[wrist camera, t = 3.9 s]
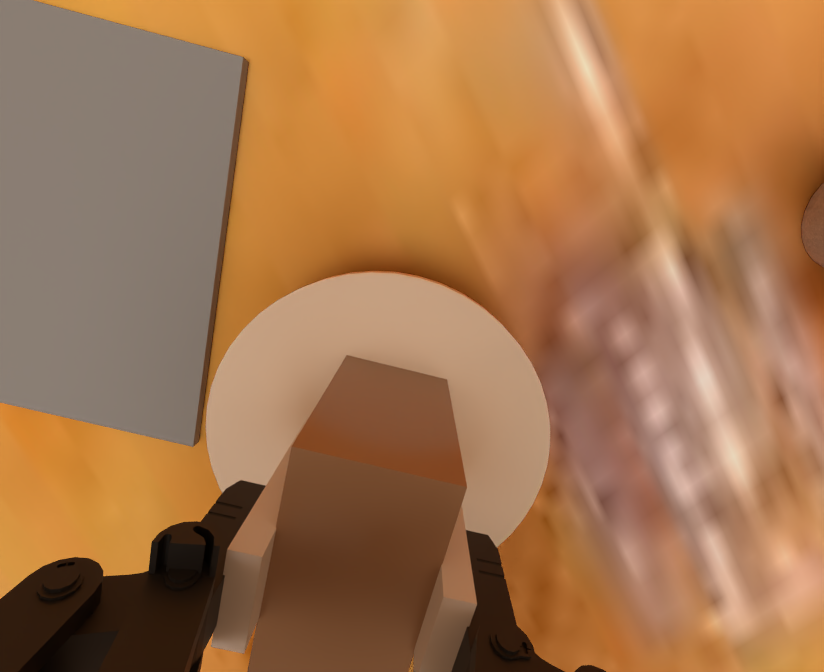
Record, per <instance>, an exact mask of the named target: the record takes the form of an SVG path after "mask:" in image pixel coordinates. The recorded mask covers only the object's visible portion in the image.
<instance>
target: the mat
mask: <svg viewBox="0 0 824 672" xmlns="http://www.w3.org/2000/svg"><path fill="white" fill-rule="evenodd" d="M248 63H249V62H248V61H247V60H246V59H245V58H244V57H241V56H237V55H233V54H230V53H226V52H222V51H219V50H215V49H211V48H207V47H204V46H200V45H196V44H193V43H189V42H185V41H181V40H178V39H174V38H170V37H167V36H163V35H159V34H155V33H152V32H148V31H144V30H141V29H137V28H133V27H129V26H126V25H122V24H118V23H115V22H111V21H107V20H104V19H100V18H96V17H92V16H89V15H85V14H81V13H78V12H74V11H70V10H66V9H63V8H59V7H55V6H52V5H48V4H44V3H40V2H37V1H33V0H0V402H1V403H5V404H10V405H14V406H18V407H23V408H27V409H31V410H36V411H40V412H44V413H49V414H53V415H57V416H62V417H66V418H70V419H75V420H79V421H83V422H88V423H92V424H96V425H101V426H105V427H110V428H114V429H118V430H123V431H127V432H131V433H136V434H140V435H144V436H149V437H153V438H157V439H162V440H166V441H170V442H175V443H179V444H183V445H188V446H192V447H193V446H194V445H195V444H197V443H198V442H199V435H200V428H201V420H202V412H203V405H204V397H205V390H206V382H207V375H208V367H209V359H210V352H211V344H212V337H213V329H214V321H215V314H216V306H217V299H218V291H219V283H220V276H221V268H222V261H223V253H224V245H225V238H226V230H227V223H228V215H229V207H230V200H231V192H232V185H233V177H234V169H235V162H236V154H237V147H238V139H239V131H240V124H241V116H242V109H243V101H244V93H245V86H246V78H247V71H248Z"/></svg>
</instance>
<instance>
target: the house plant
mask: <svg viewBox="0 0 824 672" xmlns="http://www.w3.org/2000/svg"><path fill="white" fill-rule="evenodd" d="M802 240H803V244H804V247H805V250H806V252H807V253H808V254H809V256H810V257H811V258H812V260H813V261H815V262H816V263H818V264H819V265H820V266H822V267H824V183H823V184H822V185H821V186H820V187H819V189H818V190H817V191H816V192H815V193H814V195H813V196H812V198H811V200H810V202H809V204H808V205H807V207H806V209H805V212H804V217H803V221H802Z"/></svg>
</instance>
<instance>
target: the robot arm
mask: <svg viewBox="0 0 824 672" xmlns="http://www.w3.org/2000/svg"><path fill="white" fill-rule="evenodd" d="M309 417H310V416H308V418H309ZM308 418H307V419H306V421H305V423H306V422H307V420H308ZM305 423H304V424H303V426H302V427H301V429H300V431H299V432H298V434H297V436H298V435H299V433H300V432H301V430H302V428H303V427H304V425H305ZM297 436H296V437H295V439H294V441H295V440H296V438H297ZM294 441H293V442H292V444H291V445H290V447H289V449H288V450H287V452H286V454H285V455H284V457H283V459H282V460H281V462H280V463H279V465H278V467H277V468H276V470H275V472H274V473H273V475H272V477H271V478H270V480H269V482H268V483H267V485H266V486H265V485H261V484H256V483H252V482H248V481H243V480H240V481H238V482H236V483H235V484H233V485H231V486H230V487H228V488H226V489H225V491H224V492H223V493H222V494H221V496H220V497H219V498H218V500H217V501H216V504H214V505H213V506H212V508H211V509H210V510H209V512H208V514H206V516H205V517H204V518H203V519H202V521H201V522H183V523H179V524H176V525H173V526H170V527H168V528H167V529H165V530H163V531H162V532H160V533H159V534H158V535H157V536H156V538H155V539H154V540H153V541H152V545H151V554H150V563H149V571H147V572H144V573H139V574H132V575H118V576H103V570H102V568H101V566H100V565H99V563H97V562H95V561H93V560H91V559H89V558H78V557H74V558H68V559H62V560H58V561H55V562H53V563H50V564H48V565H45V566H43V567H41V568H40V569H38V570H37V571H35V572H34V573H32V574H30V575H29V576H28V577H26V578H25V579H24V580H23V581H22V582H20V583H19V584H18V585H17V586H16V587H14V588H13V589H12V590H11V591H10V592H8V593H7V594H6V595H5V596H4V597H2V598H1V599H0V672H200V669H201V664H202V657H203V651H204V649H205V647H206V645H207V643H208V641H209V639H210V637H211V636H212V634H213V639H212V645H211V647H215V648H219V649H224V650H229V651H234V652H239V653H243V654H244V652H245V650H246V647H247V645H248V643H249V640H250V638H251V636H252V633H253V631H254V628H255V626H256V624H257V621H258V619H259V615H260V609H261V604H262V599H263V594H264V589H265V584H266V579H267V574H268V569H269V563H270V558H271V553H272V548H273V543H274V538H275V533H276V523H277V518H278V513H279V508H280V503H281V498H282V492H283V487H284V482H285V477H286V472H287V467H288V462H289V457H290V452H291V446H292V445H293V443H294ZM213 632H214V633H213ZM413 672H564V671H562V670H560V669H558V668H557V667H555V666H553V665H551V664H549V663H548V662H546V661H544V660H543V659H541V658H540V657H539V656H538V655H536V654H535V652H534V648H533V645H532V644H531V642H530V640H529V639H528V637H527V635H526V634H525V633H524V632H523V631H522V630H521V629H520V628H519V627H517V625H516V621H515V617H514V613H513V609H512V605H511V600H510V596H509V592H508V588H507V584H506V580H505V579H504V572H503V568H502V567H501V560H500V556H499V552H498V549H497V547H496V546H495V544H494V543H493V541H492V540H491V538H490V537H489V535H486V534H482V533H477V532H473V531H468V530H466V529H465V522H464V516H463V509H462V505H461V508H460V511H459V514H458V518H457V521H456V524H455V527H454V530H453V533H452V536H451V539H450V542H449V546H448V549H447V552H446V555H445V558H444V561H443V564H442V565H441V568H440V571H439V574H438V577H437V580H436V583H435V586H434V589H433V593H432V596H431V599H430V602H429V605H428V608H427V611H426V614H425V618H424V621H423V624H422V627H421V630H420V633H419V636H418V639H417V643H416V646H415V649H414V666H413ZM575 672H606V671H604V670H603V669H600V668H597V667H595V666H592V665H587V666H581V667H579V668H578V669H577V670H575Z"/></svg>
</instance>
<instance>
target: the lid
mask: <svg viewBox="0 0 824 672" xmlns="http://www.w3.org/2000/svg"><path fill="white" fill-rule="evenodd" d="M308 416H310V417H309V418H308ZM307 418H308V420H307V422H306V423H305V421H306V419H307ZM304 423H305V425H304V427H303V428H302V430H301V432H300V433H299V435H298V436H297V434H298V432H299V431H300V429H301V427H302V426H303V424H304ZM296 436H297V438H296V440H295V441H294V439H295V437H296ZM206 437H207V448H208V453H209V457H210V462H211V466H212V469H213V472H214V475H215V477H216V480H217V483H218V485H219V488H220V490H221V491H222V493H223V492H224V491H225V489H226V488H228V487H230V486H231V485H233V484H235V483H236V482H238V481H240V480H243V481H248V482H252V483H256V484H261V485H265V486H266V485H267V483H268V482H269V480H270V478H271V477H272V475H273V473H274V472H275V470H276V468H277V467H278V465H279V463H280V462H281V460H282V459H283V457H284V455H285V454H286V452H287V450H288V449H289V447H290V445H291V444H292V442H293V441H294V443H293V445H292V446H291V452H290V457H289V462H288V467H287V472H286V477H285V482H284V487H283V492H282V498H281V503H280V508H279V513H278V518H277V523H276V533H275V538H274V543H273V548H272V553H271V558H270V563H269V569H268V574H267V579H266V584H265V589H264V594H263V599H262V604H261V609H260V615H259V619H258V621H257V625H256V630H255V636H254V641H253V646H252V651H251V656H250V661H249V666H248V671H247V672H408V670H409V667H410V664H411V661H412V658H413V654H414V649H415V646H416V643H417V639H418V636H419V633H420V630H421V627H422V624H423V621H424V618H425V614H426V611H427V608H428V605H429V602H430V599H431V596H432V593H433V589H434V586H435V583H436V580H437V577H438V574H439V571H440V568H441V565H442V564H443V561H444V558H445V555H446V552H447V549H448V546H449V542H450V539H451V536H452V533H453V530H454V527H455V524H456V521H457V518H458V514H459V511H460V508H461V505H462V509H463V516H464V522H465V529H466V530H468V531H473V532H477V533H482V534H486V535H489V537H490V538H491V540H492V541H493V543H494V544H495V546H496V547H498V546H499V545H500V544H501V543H502V542H503V541H505V540H506V539H507V538H508V537H509V536H510V535H511V534H512V532H513V531H514V530H515V529H516V528H517V526H518V525H519V524H520V523H521V522H522V520H523V519H524V517H525V516H526V514H527V513H528V511H529V509H530V508H531V506H532V505H533V503H534V501H535V498H536V496H537V494H538V492H539V490H540V487H541V485H542V482H543V479H544V475H545V472H546V468H547V464H548V457H549V450H550V420H549V414H548V407H547V402H546V399H545V395H544V392H543V389H542V385H541V382H540V380H539V378H538V376H537V374H536V372H535V370H534V367H533V365H532V363H531V362H530V360H529V358H528V357H527V355H526V354H525V352H524V351H523V349H522V348H521V346H520V345H519V343H518V342H517V341H516V340H515V339H514V338H513V336H512V335H511V334H510V333H509V332H508V331H507V330H506V329H505V327H504V326H503V325H502V324H501V323H500V322H499V321H498V320H497V319H496V318H495V317H494V316H493V315H492V314H490V313H489V312H488V311H487V310H486V309H485V308H483V307H482V306H481V305H480V304H478V303H477V302H475V301H474V300H472V299H471V298H469V297H467V296H466V295H464V294H463V293H461V292H459V291H457V290H455V289H453V288H451V287H449V286H446V285H444V284H442V283H440V282H437V281H433V280H430V279H427V278H424V277H421V276H417V275H411V274H406V273H401V272H391V271H363V272H351V273H346V274H341V275H337V276H332V277H328V278H325V279H323V280H320V281H317V282H314V283H312V284H309V285H306V286H304V287H302V288H300V289H298V290H296V291H294V292H292V293H290V294H288V295H286V296H285V297H283V298H281V299H279V300H277V301H276V302H274V303H273V304H272V305H270V306H269V307H268V308H266V309H265V310H263V311H262V312H261V313H259V314H258V315H257V316H256V317H255V318H254V319H253V320H252V321H251V322H250V323H249V324H248V325H247V326H246V327H245V328H244V329H243V330H242V331H241V332H240V334H239V335H238V336H237V338H236V339H235V340H234V342H233V343H232V344H231V346H230V347H229V349H228V350H227V352H226V354H225V356H224V358H223V359H222V361H221V363H220V365H219V367H218V370H217V372H216V375H215V378H214V380H213V383H212V386H211V390H210V395H209V399H208V404H207V414H206Z"/></svg>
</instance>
